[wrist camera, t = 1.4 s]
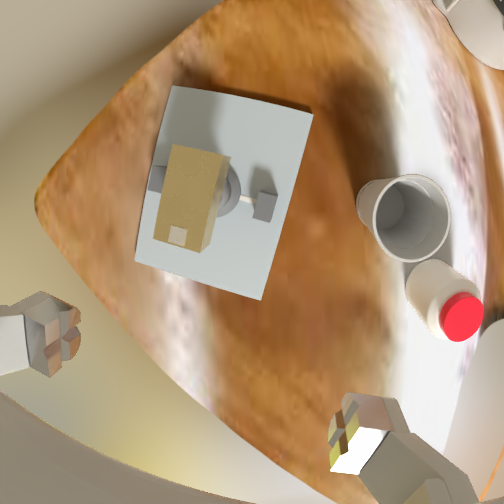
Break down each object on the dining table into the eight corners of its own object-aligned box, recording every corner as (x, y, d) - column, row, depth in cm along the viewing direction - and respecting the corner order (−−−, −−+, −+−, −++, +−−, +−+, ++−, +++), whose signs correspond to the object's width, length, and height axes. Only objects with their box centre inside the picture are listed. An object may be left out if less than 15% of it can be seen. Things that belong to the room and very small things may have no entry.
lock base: (175, 87, 36) (152, 73, 30) (312, 116, 35) (317, 104, 28) (138, 258, 43) (112, 274, 36) (261, 297, 42) (254, 321, 35)
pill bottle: (435, 246, 37) (474, 271, 27) (461, 285, 38) (499, 317, 27) (394, 285, 39) (422, 322, 29) (423, 321, 40) (452, 362, 29)
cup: (382, 248, 38) (414, 279, 27) (336, 208, 38) (354, 225, 26) (420, 201, 36) (464, 214, 25) (375, 159, 36) (408, 155, 24)
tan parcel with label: (188, 147, 31) (172, 143, 26) (233, 157, 31) (223, 154, 26) (170, 229, 33) (152, 239, 29) (212, 242, 33) (199, 253, 29)
